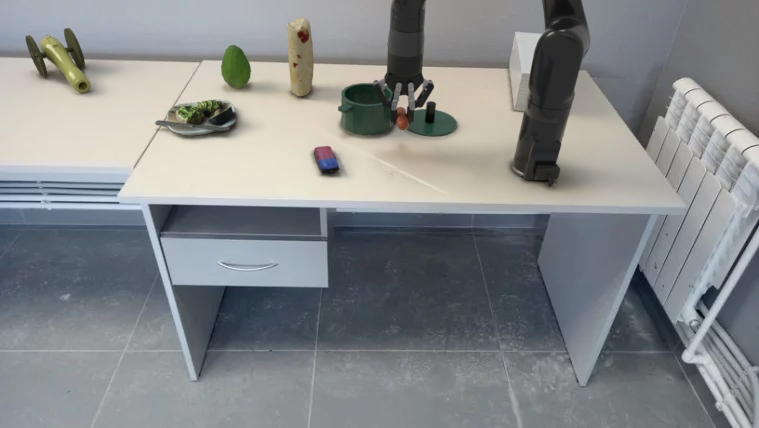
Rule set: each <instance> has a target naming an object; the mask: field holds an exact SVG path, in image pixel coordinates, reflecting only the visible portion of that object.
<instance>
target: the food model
mask: <svg viewBox="0 0 759 428" xmlns="http://www.w3.org/2000/svg"><path fill="white" fill-rule="evenodd" d="M286 28H287V60H288V67H289V68H288V69H289V79H290V80H289V81H290V89H291V92H292V94H293V95H295V96H297V97H305V96H307V95H308V94H309V93H310V92H311V91H312V87H313V80H314V79H313V78H314V65H315V60H314V59H315V58H314V46H313V45H314V44H313V37H312V30H311V22H310V20H309V19H308V18H306V17H303V16H302V17H297V18H296V19H294V20H293V21H290V22H287V24H286Z"/></svg>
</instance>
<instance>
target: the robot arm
mask: <svg viewBox="0 0 759 428" xmlns="http://www.w3.org/2000/svg"><path fill="white" fill-rule="evenodd" d="M426 4H427V0H391V4H390V13H389V30H388V36H387V43H386V46H387V55H386V56H387V57H386V64H387V65H386V73H385V74H384V77H383V78H382V79H380V80H378V79H375V80H374V81H373V82H372V83H373V84H374V89H375V91H376V93H377V95H378V97H379V99H380V101H381V103H382V105H383V107H384V108H389V109H390V121H391V123H392V126H397V122H396V120H397V108H398V103H399V101H400V100H399V99H400V97H401V96H405V97H407V102H408V103H407V104H408V105H407V106H406V114H407V118H408V122H409V125H410V124H411V122H413V120H414V110H417V109H420V108H421V109H423V107H424V105H425V104H426V103H427V100H428V99H429V97H430V95H431V94H432V92H433V90H434V89H435V84H434V82H433V80H432V79H426V78H424V75H423V65H424V53H425V38H426V37H425V23H426ZM541 4H542V10H543V11H542V12H543V19H544V20H543V22H544V32H543V33H541V34H542V35H541V37H540V38H539V40H538V42H537V44H536V47H535V51H534V55H533V60H532V65H531V71H530V76H529V82H528V88H529V91H528V96H527V101H526V105H525V110H524V111H523V115H522V119H521V120H522V121H521V124H520V127H519V132H518V136H517V143H516V146H515V152H514V155H513V159H512V162H511V169H512V170H513V172H515V174H517V175H518V176H520V177H522V178H523V179H524V180H525V181H548V185H547V186H548V187H549V188H551V187H553V185H554V181H558V179H559V176H560V173H561V167H560V166H559V165H558V163H557V162H558V159H559V155H560V151H561V148H562V142H563V138H564V135H565V131H566V128H567V124H568V121H569V117H570V113H571V110H572V106H573V103H574V99H575V95H576V91H575V89H576V85H577V82H578V78H579V73H580V71H581V66H582V63H583V60H584V58H585V57H586V55H587V54H588V52H589V50H590V48H591V41H592V39H591V32H590V31H591V30H590V28H589V27H590V26H589V24H588V20H587V16H586V12H585V9H584V5H583V0H541ZM386 85H387V86H388V87H389V88H390V90H391V91H392V96H391V101H390V100H387V98H386V96H385V93H384V91H383V90H384V89H385V87H384V86H386ZM420 87H422V89H421V91H420V93H419V94H418V97H417V98H416V99H415V93H416V91H418V89H419V88H420Z"/></svg>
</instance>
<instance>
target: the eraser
mask: <svg viewBox="0 0 759 428" xmlns="http://www.w3.org/2000/svg"><path fill="white" fill-rule="evenodd" d="M313 155H314V158H315V160H316V163H317V166H318V169H319V171H320V173H321V174H322V175H324V174H328V173H333V172H334V173H335V172H338V171H339V170H340V166H339V164H338V163H339V162H338V161H337V159H336V156H335V154H334V151H333V150H332V147H331V146H330V145H323V146H316V147H314V150H313Z"/></svg>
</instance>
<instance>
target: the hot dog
mask: <svg viewBox="0 0 759 428" xmlns="http://www.w3.org/2000/svg"><path fill="white" fill-rule="evenodd" d="M396 122H397V125H396V127H397V128H398V129H399V130H400V131H406V130H408V129H407V128H408V127H409V122H408V118H407V109H405V107H403V106H397V120H396Z"/></svg>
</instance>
